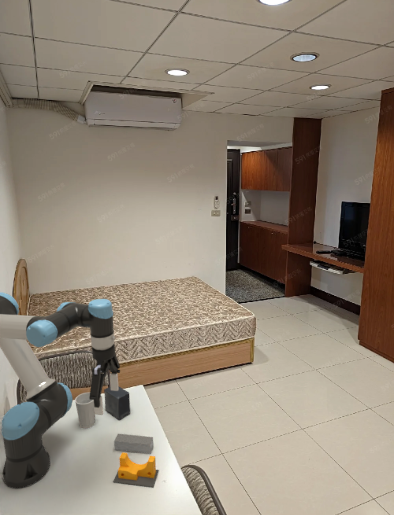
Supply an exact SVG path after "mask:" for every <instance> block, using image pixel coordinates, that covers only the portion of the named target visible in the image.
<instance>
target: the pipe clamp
mask: <svg viewBox="0 0 394 515" xmlns="http://www.w3.org/2000/svg"><path fill="white" fill-rule="evenodd" d="M118 460H119V467H118V469H117V472H118V478H122V479H130V480H137V478H138V476H141V477H148V478H154V476H155V473H156V470H157V466H156V455H155V456H154V455H149V457H148V460H147V462H145V463H140V464H139V463H136V462H133V461H132V459H130V457H129V454H128V452H124V451H121V454H120V456H119V459H118Z"/></svg>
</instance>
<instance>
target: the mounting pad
mask: <svg viewBox="0 0 394 515" xmlns="http://www.w3.org/2000/svg"><path fill="white" fill-rule="evenodd" d="M159 471H160V469H156V473H155V476H154V478H148V477H141V476H138V478H137V480H130V479H122V478H118V471H117V472H116V474H115V475H114V476H115V477H114V479H113V481H112V483H114V484H121V485H128V486H129V485H131V486H137V487H144V488H145V487H146V488H151V489H152V488H153V489H154V487H155V485H156V484H155V483H156V480H157V478H158V474H159Z"/></svg>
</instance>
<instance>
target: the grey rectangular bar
mask: <svg viewBox="0 0 394 515" xmlns="http://www.w3.org/2000/svg"><path fill="white" fill-rule="evenodd" d="M113 446H114V447H113V448H114V451H121V452H126V453H129V452H130V453H136V454H137V453H139V454H148V455H151V454H152V451H153V448H154V437H153V436H145V435H144V436H143V435H135V434H127V433H117V435H116V436H115V438H114V441H113Z"/></svg>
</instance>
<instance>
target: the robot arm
mask: <svg viewBox="0 0 394 515" xmlns="http://www.w3.org/2000/svg"><path fill="white" fill-rule="evenodd" d="M19 308H20V307H19V304H18V302H17V300H16V299H15V298H14V296H12V295H10V294H9V293H5V292H1V291H0V349H1V351H2V353H3V354H4V356H5V357H6V359H7V361H8V363H9V364H10V366H11V368H12V369H13V371H14V372H15V374H16V376H17V377H18V379H19V381H20V383H21V384H22V386H23V388H24V389H25V391H26V397H25V400H26V401H25V402H21V403H20V404H19V403H18V404H16V405H14V406H13V407H11V408H9V409H8V410H7V411H6V413H5V414H4V415H3V417H2V420H1V435H2V440H3V444H4V445H3V447H4V453H5V460H4V464H3V468H2V480H3V483H4V485H5V486H7V487H8V488H11V489H23V488H27V487H30V486H32V485H34V484H36V483H37V482H39V481H40V480H42V479H43V478H44V477H45V476H46V475H47V474H48V472H49V470H50V467H51V456H50V454H49V453H48V451H47V450H46V447H45V446H44V443H43V435H44V434H45V433H46V432H47V431H48V430H49V429H51V428H52V426H54V425H55V424H56V423H57V422H59V421H60V419H62V418H64V417H65V416H66V414H68V412H69V411H70V409H71V408H72V405H73V394H72V392H71V389H70V388H69V387H68V385H66V384H64V383H63V382H57V380H56V379H55V378H50V376H48V374H47V372H46V371H45V368H44V367H43V365H42V364H41V362H40V361H39V358H38V357H37V356H36V354H35V352H34V351H33V349H32V347H31V345H33V346H34V347H36V348H42V347H44V346H47V345H50V344H51V343H53V342H54V341H55V340H57V339H60V337H62V336H64V335H66V334H67V333H68V332H71V331H73V330H74V329H76V328H78V327H81V328H87V329H89V330H90V331H89V333H90V344H91V345H90V346H91V356H92V358H93V359H94V360H95V361H96V367H94V366H93V367H92V368H91V373H92V374H91V381H90V382H91V383H90V389H89V393H90V397H89V399H90V400H94V412H95V416H96V415H97V416H103V415H104V405H103V395H102V392H103V387H104V382H105V377H107V374H108V371H109V372H110V373H109V381H110V382H109V383H110V386H109V387H111V390H113V391H118V390H119V388H118V386H119V378H118V377H119V376H118V375H119V374H120V373H121V369H120V368H121V366H120V365H121V364H120V362H119V360H118V358H117V354H116V345H115V339H116V336H115V329H114V311H113V303H112V301H110V300H109V299H107V298H98V299H92V300H91V301H89V303H88V304H85V303H79V302H75V301H71V302H69V301H64V302H62V303H60V305H59V306H58V307H57V309H56V311H55V312H53V313H51V314H49V315H46V316H43V315H42V316H41V315H39V316H38V315H37V316H36V315H22V314H21V315H20V313H19V312H20V309H19ZM30 344H31V345H30Z"/></svg>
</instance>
